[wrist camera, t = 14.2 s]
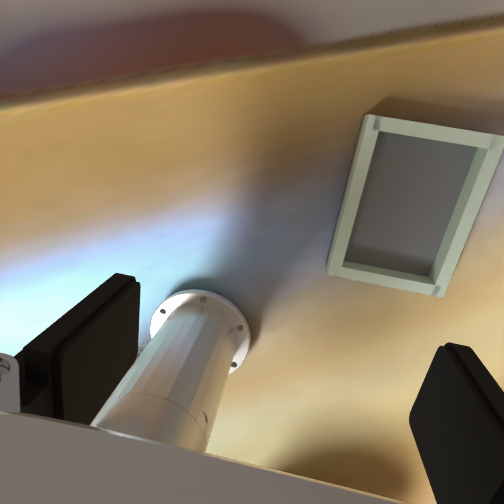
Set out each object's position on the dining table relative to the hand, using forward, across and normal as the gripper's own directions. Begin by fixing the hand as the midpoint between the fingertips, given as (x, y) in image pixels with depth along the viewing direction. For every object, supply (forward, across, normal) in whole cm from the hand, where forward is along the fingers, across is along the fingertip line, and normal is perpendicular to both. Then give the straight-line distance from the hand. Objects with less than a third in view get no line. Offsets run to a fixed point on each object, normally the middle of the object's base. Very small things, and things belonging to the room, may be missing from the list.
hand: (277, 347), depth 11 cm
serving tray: (+28, -11, 0) cm, 30 cm away
